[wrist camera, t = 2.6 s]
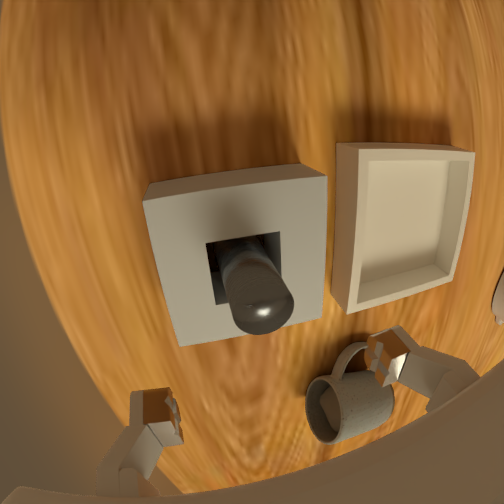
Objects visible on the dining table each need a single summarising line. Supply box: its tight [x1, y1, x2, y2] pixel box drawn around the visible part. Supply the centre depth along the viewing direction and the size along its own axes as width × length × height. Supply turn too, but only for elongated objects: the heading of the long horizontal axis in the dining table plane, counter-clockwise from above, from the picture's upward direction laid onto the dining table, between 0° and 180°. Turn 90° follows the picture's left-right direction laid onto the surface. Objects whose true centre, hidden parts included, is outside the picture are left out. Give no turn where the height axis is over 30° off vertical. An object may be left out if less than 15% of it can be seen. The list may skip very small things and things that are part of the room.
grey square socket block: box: [142, 163, 327, 347], centre depth 19 cm, size 10×10×4 cm
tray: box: [331, 142, 475, 314], centre depth 22 cm, size 13×13×3 cm
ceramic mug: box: [305, 342, 395, 445], centre depth 28 cm, size 11×8×8 cm
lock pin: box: [213, 235, 294, 335], centre depth 18 cm, size 3×3×8 cm
